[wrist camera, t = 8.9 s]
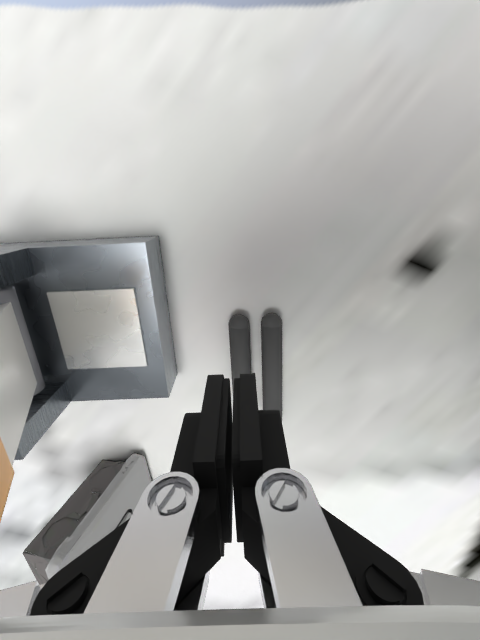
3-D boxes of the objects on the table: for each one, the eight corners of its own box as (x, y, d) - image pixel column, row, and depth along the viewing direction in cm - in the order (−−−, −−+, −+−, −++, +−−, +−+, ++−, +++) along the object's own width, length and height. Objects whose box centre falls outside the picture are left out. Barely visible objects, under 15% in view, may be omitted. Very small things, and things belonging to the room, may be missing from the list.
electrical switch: (165, 526, 30) (122, 660, 21) (113, 524, 30) (50, 655, 22) (145, 447, 26) (83, 569, 18) (87, 447, 27) (0, 566, 18)
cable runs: (280, 309, 22) (283, 316, 21) (280, 421, 25) (282, 433, 24) (228, 312, 22) (227, 319, 21) (235, 422, 25) (235, 435, 24)
